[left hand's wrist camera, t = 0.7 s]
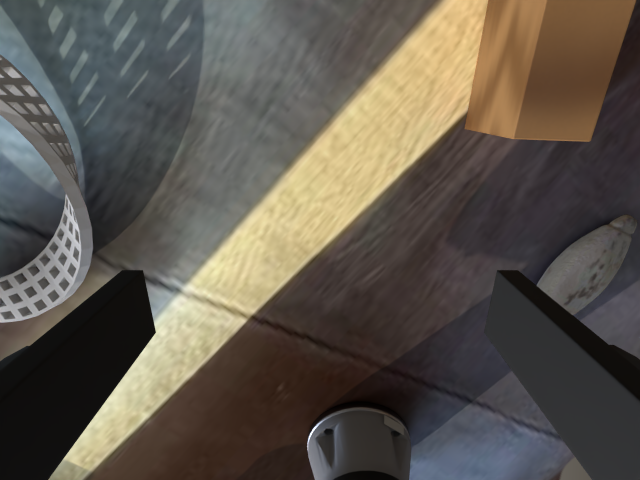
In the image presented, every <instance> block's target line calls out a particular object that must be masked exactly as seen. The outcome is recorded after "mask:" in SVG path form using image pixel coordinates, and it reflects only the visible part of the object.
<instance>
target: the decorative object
mask: <svg viewBox="0 0 640 480" xmlns="http://www.w3.org/2000/svg"><path fill="white" fill-rule="evenodd" d="M0 115H1V116H2V117H4V118H5V119H6V120H7V121H8V122H10V123H11V124H12V125H13V126H14V127H15V128H16V129H17V130H18V131H19V132H20V133H21V134H22V135H23V136H24V137H25V138H26V139H27V140H28V141H29V142H30V143H31V144H32V145H33V146H34V147H35V149H36V150H37V151H38V152H39V153H40V155H41V156H42V157H43V158H44V160H45V161H46V162H47V163H48V165H49V166H50V167H51V169H52V171H53V172H54V174H55V175H56V177H57V178H58V180H59V182H60V183H61V185H62V186H63V188H64V190H65V192H66V199H65V207H64V212H63V215H62V219H61V222H60V225H59V227H58V229H57V231H56V233H55V235H54V237H53V238H52V240H51V241H50V242H49V244H48V245H47V247H46V248H45V249H44V250H43V251H42V252H41V253H40V254H39V255H38V256H37V257H36V258H35V259H34V260H33V261H31V262H30V263H29V264H27V265H26V266H25V267H23V268H22V269H20V270H18V271H16V272H14V273H12V274H10V275H6V276H3V277H0V322H12V321H21V320H24V319H28V318H31V317H35V316H38V315H40V314H42V313H44V312H45V311H47V310H49V309H51V308H53V307H55V306H57V305H59V304H61V303H62V302H63V301H65V300H66V299H67V298H69V297H70V296H71V295H72V294H74V292H75V291H76V290H77V289H78V287H79V286H80V285H81V283H82V282H83V281H84V279H85V276H86V274H87V272H88V269H89V267H90V263H91V257H92V251H93V240H92V227H91V223H90V219H89V215H88V211H87V207H86V205H85V202H84V200H83V197H82V195H81V192H80V188H79V183H78V173H77V168H76V162H75V158H74V155H73V152H72V149H71V146H70V143H69V140H68V138H67V136H66V134H65V132H64V130H63V128H62V126H61V124H60V122H59V120H58V119H57V117H56V115H55V114H54V112H53V111H52V109H51V108H50V106H49V105H48V103H47V102H46V100H45V99H44V98H43V97H42V96H41V94H40V93H39V92H38V91H37V90H36V88H35V87H34V86H33V85H32V84H31V82H30V81H29V80H28V79H27V78H26V77H25V76H24V75H23V74H22V73H21V72H20V71H19V70H18V69H16V68H15V67H14V66H13V65H12V64H11V63H10V62H9V61H8V60H7V59H5V58H4V57H3V56H1V55H0ZM48 258H50V260H49V259H48ZM36 266H37V267H38V269H39V270H40V272H39V271H38V270H37V268H36ZM58 270H59V271H60V272H59V271H58ZM22 273H23V275H24V276H25V277H26V279H27V281H26V279H25V278H24V277H23V276H22ZM7 279H8V281H9V282H10V284H11V285H12V287H11V285H10V284H9V283H8V282H7ZM46 279H47V280H48V282H49V283H50V284H49V283H48V282H47V280H46ZM69 283H70V284H69ZM31 286H33V288H34V289H35V290H36V292H37V293H38V294H37V293H36V292H35V291H34V289H33V288H32V287H31ZM56 292H57V293H58V294H59V295H58V294H57V293H56ZM17 293H18V294H19V296H20V297H21V298H20V297H19V296H18V294H17ZM42 300H43V301H44V302H45V303H44V302H43V301H42ZM45 304H46V305H47V306H46V305H45ZM28 308H29V309H30V310H29V309H28Z"/></svg>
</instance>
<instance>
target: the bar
mask: <svg viewBox="0 0 640 480" xmlns="http://www.w3.org/2000/svg"><path fill="white" fill-rule="evenodd" d="M635 3H636V0H489V1H488V6H487V12H486V17H485V22H484V28H483V33H482V38H481V44H480V49H479V55H478V60H477V65H476V71H475V76H474V81H473V87H472V92H471V97H470V103H469V108H468V114H467V119H466V124H465V129H468V130H473V131H478V132H482V133H487V134H492V135H497V136H502V137H507V138H512V139H531V140H559V141H588V142H589V141H591V138H592V135H593V132H594V129H595V126H596V123H597V120H598V117H599V114H600V111H601V107H602V104H603V101H604V98H605V95H606V92H607V89H608V86H609V83H610V80H611V77H612V74H613V71H614V68H615V64H616V61H617V58H618V55H619V52H620V49H621V46H622V43H623V40H624V37H625V34H626V31H627V28H628V24H629V21H630V18H631V15H632V12H633V9H634V6H635Z"/></svg>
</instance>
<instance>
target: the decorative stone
mask: <svg viewBox="0 0 640 480" xmlns="http://www.w3.org/2000/svg"><path fill="white" fill-rule="evenodd" d="M636 226H637V220H636V219H635V218H633V217H632V216H629V215H622V216H620V217H619V218H616V219H615V220H613V221H612V222H610V224H608V225H603V226H601V227H599V228H597V229H595V230H593V231H592V232H590V233H588V234H587V235H585V236H583V237H581V238H580V239H578V240H577V241H576V242H574V243H573V244H571V245H570V246H569V247H568V248H566V249H565V250H564V251H563V252H562V253H561V254H560V255H559V256H558V257H557V258H556V259H555V260H554V261H553V262H552V264H551V265H550V266H549V267H548V268H547V270H546V271H545V273H544V274H543V276H542V277H541V279H540V280H539V282H538V284H537V287H539V288H540V289H541V290H542V291H544V292H545V293H546V294H547V295H548V296H550V297H551V298H552V299H553V300H555V301H556V302H557V303H558V304H559V305H561V306H562V307H563V308H564V309H566V310H567V311H568V312H569V313H570V314H572V315H574V314H576V313H577V312H578V311H580V310H581V309H583V308H584V307H585V306H586V305H588V304H589V303H590V302H591V301H593V300H594V299H595V298H596V297H597V296H599V294H601V293H602V292H603V291H604V289H605V288H606V287H607V286H608V285H609V283H610V282H611V280H612V279H613V278H614V276H615V275H616V273H617V272H618V270H619V268H620V266H621V264H622V263H623V260H624V258H625V256H626V253H627V251H628V249H629V246H630V243H631V240H632V237H631V234H633V233H634V232H635V229H636Z"/></svg>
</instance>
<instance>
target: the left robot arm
mask: <svg viewBox="0 0 640 480" xmlns="http://www.w3.org/2000/svg"><path fill="white" fill-rule="evenodd" d="M155 333H156V331H155V326H154V321H153V316H152V312H151V307H150V302H149V297H148V292H147V288H146V283H145V278H144V273H143V270H122V271H121V272H120V273H118V274H117V275H116V276H115V277H114V278H112V279H111V280H110V281H109V282H107V283H106V284H105V285H104V286H103V287H101V288H100V289H99V290H98V291H96V292H95V293H94V294H93V295H92V296H90V297H89V298H88V299H87V300H85V301H84V302H83V303H82V304H81V305H79V306H78V307H77V308H76V309H74V310H73V311H72V312H71V313H70V314H68V315H67V316H66V317H65V318H63V319H62V320H61V321H60V322H59V323H57V324H56V325H55V326H54V327H52V328H51V329H50V330H49V331H48V332H46V333H45V334H44V335H43V336H41V337H40V338H39V339H38V340H37V341H35V342H34V343H33V344H32V345H30V346H26V347H24V348H22V349H21V350H19V351H17V352H15V353H13V354H11V355H9V356H8V357H6V358H4V359H3V360H1V361H0V480H48V479H49V478H50V476H51V475H52V473H53V472H54V471H55V469H56V468H57V467H58V465H59V464H60V463H61V461H62V460H63V458H64V457H65V456H66V454H67V453H68V452H69V450H70V449H71V448H72V446H73V445H74V443H75V442H76V441H77V439H78V438H79V437H80V435H81V434H82V433H83V431H84V430H85V428H86V427H87V426H88V424H89V423H90V422H91V420H92V419H93V418H94V416H95V415H96V413H97V412H98V411H99V409H100V408H101V407H102V405H103V404H104V403H105V401H106V400H107V398H108V397H109V396H110V394H111V393H112V392H113V390H114V389H115V388H116V386H117V385H118V383H119V382H120V381H121V379H122V378H123V377H124V375H125V374H126V373H127V371H128V370H129V368H130V367H131V366H132V364H133V363H134V362H135V360H136V359H137V358H138V356H139V355H140V353H141V352H142V351H143V349H144V348H145V347H146V345H147V344H148V343H149V341H150V340H151V338H152V337H153V336H154V334H155ZM484 333H485V334H486V336H487V337H488V338H489V340H490V341H491V343H492V344H493V345H494V347H495V348H496V349H497V351H498V352H499V353H500V355H501V356H502V358H503V359H504V360H505V362H506V363H507V364H508V366H509V367H510V368H511V370H512V371H513V373H514V374H515V375H516V377H517V378H518V379H519V381H520V382H521V383H522V385H523V386H524V388H525V389H526V390H527V392H528V393H529V394H530V396H531V397H532V398H533V400H534V401H535V403H536V404H537V405H538V407H539V408H540V409H541V411H542V412H543V413H544V415H545V416H546V418H547V419H548V420H549V422H550V423H551V424H552V426H553V427H554V428H555V430H556V431H557V433H558V434H559V435H560V437H561V438H562V439H563V441H564V442H565V443H566V445H567V446H568V448H569V449H570V450H571V452H572V453H573V454H574V456H575V457H576V458H577V460H578V461H579V462H580V464H581V465H582V467H583V468H584V469H585V471H586V472H587V473H588V475H589V476H590V478H591V479H592V480H640V360H639V359H638V358H637V357H635V356H633V355H631V354H630V353H628V352H626V351H624V350H622V349H620V348H618V347H617V346H615V345H608V344H607V343H606V342H605V341H603V340H602V339H601V338H600V337H599V336H597V335H596V334H595V333H594V332H592V331H591V330H590V329H589V328H588V327H586V326H585V325H584V324H583V323H581V322H580V321H579V320H578V319H577V318H575V317H574V316H573V315H572V314H570V313H569V312H568V311H567V310H566V309H564V308H563V307H562V306H561V305H559V304H558V303H557V302H556V301H555V300H553V299H552V298H551V297H550V296H548V295H547V294H546V293H545V292H544V291H542V290H541V289H540V288H539V287H537V286H536V285H535V284H534V283H533V282H531V281H530V280H529V279H528V278H526V277H525V276H524V275H523V274H522V273H520V272H519V271H518V270H497V273H496V278H495V283H494V288H493V292H492V297H491V302H490V307H489V312H488V316H487V321H486V326H485V331H484ZM308 456H309V460H310V464H311V467H312V471H313V474H314V477H315V480H409V473H410V460H411V442H410V437H409V433H408V429H407V426H406V424H405V423H404V421H403V420H402V419H401V418H400V417H399V416H398V415H397V414H396V413H395V412H393V411H392V410H390V409H388V408H386V407H383V406H380V405H377V404H372V403H349V404H344V405H340V406H337V407H334V408H332V409H330V410H328V411H326V412H325V413H323V414H322V415H320V416H319V417H318V418H317V419H316V420H315V421H314V423H313V424H312V426H311V428H310V430H309V434H308Z"/></svg>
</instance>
